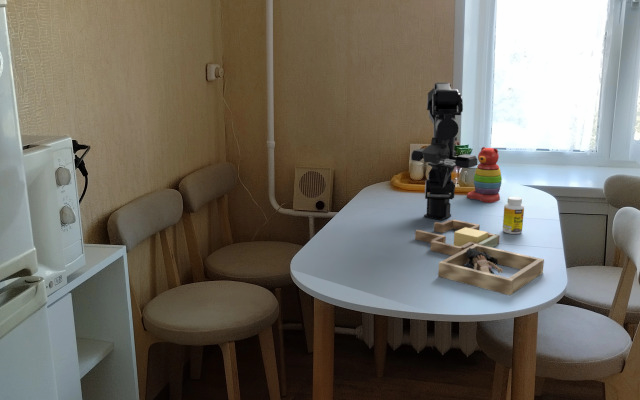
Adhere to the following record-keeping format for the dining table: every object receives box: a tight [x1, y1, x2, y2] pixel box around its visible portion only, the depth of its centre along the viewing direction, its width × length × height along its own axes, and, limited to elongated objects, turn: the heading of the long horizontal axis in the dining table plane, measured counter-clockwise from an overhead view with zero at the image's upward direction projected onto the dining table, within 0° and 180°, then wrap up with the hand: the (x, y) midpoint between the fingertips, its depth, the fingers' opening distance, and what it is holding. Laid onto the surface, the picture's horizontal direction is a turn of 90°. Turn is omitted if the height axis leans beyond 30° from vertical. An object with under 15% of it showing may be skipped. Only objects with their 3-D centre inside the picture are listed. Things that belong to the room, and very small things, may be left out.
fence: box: [437, 244, 545, 296], centre depth 164 cm, size 18×18×4 cm
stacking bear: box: [466, 146, 503, 204], centre depth 233 cm, size 11×10×18 cm
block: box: [453, 227, 489, 247], centre depth 185 cm, size 7×6×4 cm
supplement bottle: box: [502, 196, 525, 235], centre depth 196 cm, size 6×6×10 cm
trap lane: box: [414, 219, 500, 256], centre depth 188 cm, size 20×23×2 cm
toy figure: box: [466, 248, 504, 274], centre depth 164 cm, size 7×6×15 cm
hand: (442, 187), depth 196 cm, fingers closed
